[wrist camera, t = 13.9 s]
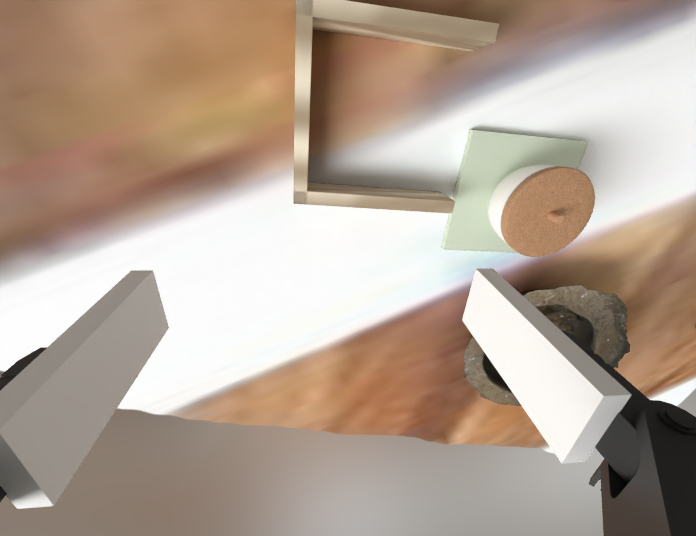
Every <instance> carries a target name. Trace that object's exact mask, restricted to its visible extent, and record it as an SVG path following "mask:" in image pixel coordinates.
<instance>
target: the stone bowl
mask: <svg viewBox="0 0 696 536" xmlns="http://www.w3.org/2000/svg"><path fill="white" fill-rule="evenodd" d="M521 295H522V296H523V297H525V298H526V299H527V300H528V301H529V302H530V303H531V304H532V305H533V306H534V307H536V308H537V309H538V310H539V311H540V312H541V313H542V314H543V315H544V316H545V317H547V318H548V319H549V320H550V321H551V322H552V323H553V324H554V325H555V326H557V327H558V328H559V329H560V330H561V331H566V332H568V333H570V334H571V335H573V336H575V337H576V338H578V339H580V340H581V341H583V342H584V343H585V344H586V345H587V346H588V347H589V348H591V349H592V350H593V351H594V353H595V354H598V355H599V356H600V357H601V358H602V359H603V360H604V361H605V363H606V364H609V365H610V366H611V367H612V368H614V367H616V368H618V362H619V361H620V359H622V357H623V356H624V354H626V353H628V352H629V351H630V344H629V343H628V341H627V340H628V339H627V337H626V332H627V330H626V329H625V327H626V319H627V317H628V315H627V314H626V311H627V309H626V307H625V304H624V303H623V302H622V301H621V300H620V299H619V298H618V297H617V296H616V295H615V294H607V293H601V292H600V291H598V290H588V289H586V288H584V287H583V286H582V285H575V286H567V287H566V286H563V287H558V288H556V289H551V290H536V291H528V292H524V293H521ZM624 326H625V327H624ZM464 360H465V362H464V363H465V366H464V370H465V378H466V379H467V381H468V382H469V383H470V384H471V385H472V386H473V387H474V388H476V389H477V390H478V391H479V392H480V395H481V397H484V398H486V399H488V400H490V401H493V402H495V403H498V404H503V405H509V404H510V405H515V406H521V404H520V403H519V401H518V400H517V398H516V397H515V395H514V394H513V393H512V391H511V390H510V388H509V387H508V385H507V384H506V383H505V381H504V380H503V378H502V377H501V375H500V374H499V373H498V371H497V370H496V368H495V367H494V365H493V364H492V362H491V361H490V360H489V358H488V357H487V355H486V354H485V352H484V351H483V350H482V348H481V347H480V345H479V344H478V342H477V341H476V339H475V338H474V337H472V339H471V340H470V342H469V344H468V346H467V348H466V350H465V354H464Z"/></svg>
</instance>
